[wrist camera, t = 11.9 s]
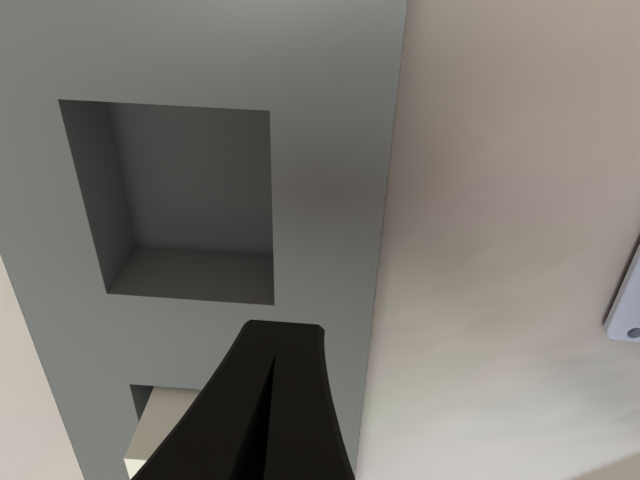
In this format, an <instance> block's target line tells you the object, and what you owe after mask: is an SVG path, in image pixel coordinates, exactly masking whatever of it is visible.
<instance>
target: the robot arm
mask: <svg viewBox="0 0 640 480" xmlns="http://www.w3.org/2000/svg"><path fill="white" fill-rule="evenodd" d="M633 328H636V329H634V330H632V331H629V330H631V329H633ZM604 330H605V333H606V334H607V336H608V338H610V339H611V340H615V341H626V342H640V244H639V246H638V249H637V251H636V253H635V255H634V258H633V260H632V262H631V265H630V267H629V269H628V271H627V274H626V276H625V278H624V281H623V283H622V285H621V287H620V290H619V292H618V294H617V297H616V299H615V301H614V303H613V306H612V308H611V310H610V313H609V315H608V317H607V319H606V322H605V324H604ZM324 337H325V330H324V329H323V328H322V327H321V326H320V325H319V324H306V323H293V322H279V321H265V320H251V319H250V320H249V321H247V322H246V323H244V325H243V327H242V328H241V330H240V332H239V334H238V336H237V337H236V339H235V341H234V342H233V344H232V346H231V347H230V349H229V351H228V352H227V354H226V355H225V357H224V358H223V360H222V361H221V363H220V364H219V366H218V367H217V369H216V370H215V372H214V373H213V375H212V376H211V378H210V379H209V381H208V382H207V383H206V385H205V386H204V388H203V389H202V390H201V392H200V393H199V394H198V396H197V397H196V399H195V400H194V401H193V403H192V404H191V405H190V407H189V408H188V410H187V411H186V412H185V414H184V415H183V416H182V418H181V419H180V420H179V422H178V423H177V424H176V425H175V427H174V428H173V429H172V430H171V431H170V433H169V434H168V435H167V436H166V438H165V439H164V440H163V441H162V443H161V444H160V445H159V446H158V447H157V449H156V450H155V451H154V452H153V454H152V455H151V456H150V457H149V459H148V460H147V461H146V462H145V463H144V465H143V466H142V467H141V468H140V469H139V470H138V471H137V473H136V474H135V475H134V476H133V477H132V478H131V479H130V480H355V477H354V474H353V471H352V468H351V464H350V461H349V458H348V455H347V452H346V448H345V445H344V442H343V438H342V434H341V431H340V427H339V423H338V419H337V415H336V411H335V407H334V404H333V399H332V394H331V390H330V384H329V379H328V373H327V367H326V359H325V347H324Z"/></svg>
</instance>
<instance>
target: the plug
mask: <svg viewBox="0 0 640 480" xmlns="http://www.w3.org/2000/svg"><path fill="white" fill-rule="evenodd" d="M200 392H201V390H198V389H186V388H173V387H160V386H154V388H153V390H152V393H151V395H150V398H149V400H148V402H147V405H146V407H145V409H144V412H143V414H142V416H141V419H140V421H139V424H138V426H137V428H136V431H135V433H134V435H133V438H132V440H131V443H130V445H129V447H128V450H127V452H126V454H125V457H124V461H125V464H126V468H127V471H128V475H129V478H130V479H131V478H132V477H133V476H134V475H135V474H136V473H137V471H138V470H139V469H140V468H141V467H142V466H143V465H144V463H145V462H146V461H147V460H148V459H149V457H150V456H151V455H152V454H153V452H154V451H155V450H156V449H157V447H158V446H159V445H160V444H161V443H162V441H163V440H164V439H165V438H166V436H167V435H168V434H169V433H170V431H171V430H172V429H173V428H174V427H175V425H176V424H177V423H178V422H179V420H180V419H181V418H182V416H183V415H184V414H185V412H186V411H187V410H188V408H189V407H190V405H191V404H192V403H193V401H194V400H195V399H196V397H197V396H198V394H199V393H200Z"/></svg>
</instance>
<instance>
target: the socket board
mask: <svg viewBox="0 0 640 480" xmlns="http://www.w3.org/2000/svg"><path fill="white" fill-rule="evenodd" d="M406 9H407V0H0V255H1V257H2V260H3V263H4V265H5V268H6V271H7V273H8V276H9V279H10V281H11V284H12V287H13V289H14V292H15V295H16V297H17V300H18V303H19V305H20V308H21V311H22V313H23V316H24V319H25V321H26V324H27V327H28V329H29V332H30V335H31V337H32V340H33V343H34V345H35V348H36V351H37V354H38V356H39V359H40V362H41V364H42V367H43V370H44V372H45V375H46V378H47V380H48V383H49V386H50V388H51V391H52V394H53V396H54V399H55V402H56V404H57V407H58V410H59V412H60V415H61V418H62V420H63V423H64V426H65V428H66V431H67V434H68V436H69V439H70V442H71V444H72V447H73V450H74V452H75V455H76V458H77V460H78V463H79V466H80V469H81V471H82V474H83V477H84V479H85V480H130V478H129V475H128V471H127V468H126V464H125V461H124V457H125V454H126V452H127V450H128V447H129V445H130V443H131V440H132V438H133V435H134V433H135V431H136V428H137V426H138V424H139V421H140V419H141V416H142V414H143V412H144V409H145V407H146V405H147V402H148V400H149V398H150V395H151V393H152V390H153V388H154V386H160V387H173V388H186V389H198V390H202V389H203V388H204V386H205V385H206V383H207V382H208V381H209V379H210V378H211V376H212V375H213V373H214V372H215V370H216V369H217V367H218V366H219V364H220V363H221V361H222V360H223V358H224V357H225V355H226V354H227V352H228V351H229V349H230V347H231V346H232V344H233V342H234V341H235V339H236V337H237V336H238V334H239V332H240V330H241V328H242V327H243V325H244V323H246V322H247V321H249V320H250V319H251V320H265V321H279V322H293V323H306V324H319V325H320V326H321V327H322V328H323V329H324V330H325V337H324V347H325V359H326V367H327V373H328V379H329V384H330V390H331V394H332V399H333V404H334V407H335V411H336V415H337V419H338V423H339V427H340V431H341V434H342V438H343V442H344V445H345V448H346V452H347V455H348V458H349V461H350V464H351V468H352V471H353V474H354V477H355V470H356V461H357V452H358V443H359V434H360V425H361V416H362V407H363V398H364V389H365V380H366V371H367V362H368V353H369V344H370V335H371V326H372V317H373V307H374V298H375V289H376V280H377V271H378V262H379V253H380V244H381V235H382V226H383V217H384V208H385V199H386V190H387V181H388V172H389V163H390V154H391V145H392V136H393V127H394V118H395V108H396V99H397V90H398V81H399V72H400V63H401V54H402V45H403V36H404V27H405V18H406Z"/></svg>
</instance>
